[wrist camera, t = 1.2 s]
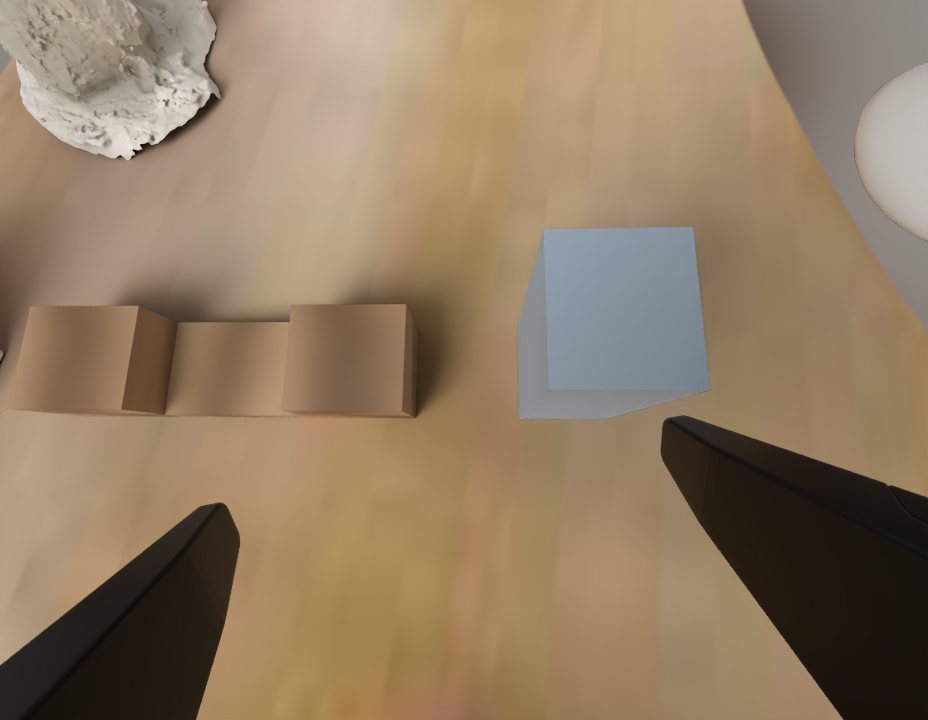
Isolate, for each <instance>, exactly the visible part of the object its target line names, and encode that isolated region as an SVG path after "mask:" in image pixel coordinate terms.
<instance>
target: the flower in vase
mask: <svg viewBox="0 0 928 720" xmlns="http://www.w3.org/2000/svg"><path fill="white" fill-rule="evenodd" d="M854 157H855V162H856V167H857V170H858V173H859V177H860V179H861V181H862V183H863V185H864V187H865V189H866V191H867V193H868V194H869V196H870V197H871V199H872V200H873V201H874V202H875V204H876V205H877V206H878V207H879V208H880V210H881V211H882V212H884V213H885V214H886V215H887V216H888V217H889V218H890V219H891V220H892V221H894V222H895V223H896V224H898V225H899V226H900V227H901V228H903V229H905V230H906V231H908V232H909V233H911V234H913V235H914V236H917V237H919V238H921V239H923V240H925V241H927V242H928V62H927V63H924V64H921V65H919V66H917V67H915V68H913V69H910V70H909V71H907V72H904V73H902V74H900V75H898V76H897V77H895V78H893V79H891V80H890V81H888V82H887V83H886V84H884V85H883V86H881V87H880V88H879V89H878V90H877V91H876V92H875V93H874V94H873V96H872V97H871V98H870V100H869V101H868V102H867V104H866V106H865V108H864V110H863V111H862V113H861V116H860V119H859V123H858V127H857V131H856V137H855V144H854Z"/></svg>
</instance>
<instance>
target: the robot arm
mask: <svg viewBox="0 0 928 720" xmlns="http://www.w3.org/2000/svg"><path fill="white" fill-rule="evenodd" d="M661 456H662V459H663V462H664V464H665V465H666V467H667V469H668V471H669V472H670V474H671V476H672V477H673V479H674V481H675V482H676V484H677V486H678V488H679V489H680V491H681V493H682V494H683V496H684V498H685V500H686V501H687V503H688V505H689V506H690V508H691V510H692V511H693V513H694V515H695V516H696V518H697V520H698V521H699V523H700V524H701V526H702V527H703V529H704V530H705V531H706V533H707V534H708V536H709V537H710V538H711V540H712V541H713V542H714V544H715V545H716V547H717V548H718V549H719V551H720V552H721V553H722V555H723V556H724V557H725V559H726V560H727V562H728V563H729V564H730V566H731V567H732V568H733V570H734V571H735V572H736V574H737V575H738V577H739V578H740V579H741V581H742V582H743V583H744V585H745V586H746V587H747V589H748V590H749V592H750V593H751V594H752V596H753V597H754V598H755V600H756V601H757V602H758V604H759V605H760V607H761V608H762V609H763V611H764V612H765V613H766V615H767V616H768V617H769V619H770V620H771V622H772V623H773V624H774V626H775V627H776V628H777V630H778V631H779V632H780V634H781V635H782V637H783V638H784V639H785V641H786V642H787V643H788V645H789V646H790V647H791V649H792V650H793V652H794V653H795V654H796V656H797V657H798V658H799V660H800V661H801V662H802V664H803V665H804V667H805V668H806V669H807V671H808V672H809V673H810V675H811V676H812V677H813V679H814V680H815V682H816V683H817V684H818V686H819V687H820V688H821V690H822V691H823V692H824V694H825V695H826V697H827V698H828V699H829V701H830V702H831V703H832V705H833V706H834V707H835V709H836V710H837V712H838V713H839V714H840V716H841V717H842V718H843V720H928V497H925V496H922V495H919V494H916V493H913V492H910V491H907V490H904V489H901V488H898V487H895V486H892V485H890V486H887V484H885V483H883V482H880V481H877V480H874V479H871V478H868V477H866V476H863V475H860V474H857V473H854V472H851V471H848V470H845V469H842V468H839V467H836V466H833V465H830V464H827V463H824V462H821V461H818V460H815V459H812V458H809V457H806V456H804V455H801V454H798V453H795V452H792V451H789V450H786V449H783V448H780V447H777V446H774V445H771V444H768V443H765V442H762V441H759V440H756V439H753V438H750V437H748V436H745V435H742V434H739V433H736V432H733V431H730V430H727V429H724V428H721V427H718V426H715V425H712V424H709V423H706V422H703V421H700V420H697V419H694V418H692V417H689V416H685V415H682V416H676V417H671V418H667V419H666V420H665V421H664V422H663V427H662V440H661ZM239 548H240V536H239V532H238V530H237V527H236V525H235V523H234V521H233V519H232V516H231V514H230V512H229V510H228V508H227V506H226V505H225V504H224V503H214V504H209V505H204V506H201V507H199V508H197V509H196V510H195V511H193V512H192V513H191V514H190V515H188V516H187V517H186V518H185V519H183V520H182V521H181V522H180V523H178V524H177V525H176V526H175V527H173V528H172V529H171V530H170V531H168V532H167V533H166V534H165V535H163V536H162V537H161V538H160V539H158V540H157V541H156V542H155V543H153V544H152V545H151V546H150V547H148V548H147V549H146V550H144V551H143V552H142V553H141V554H139V555H138V556H137V557H136V558H134V559H133V560H132V561H131V562H129V563H128V564H127V565H126V566H124V567H123V568H122V569H121V570H119V571H118V572H117V573H116V574H114V575H113V576H112V577H111V578H109V579H108V580H107V581H106V582H104V583H103V584H102V585H101V586H99V587H98V588H97V589H95V590H94V591H93V592H92V593H90V594H89V595H88V596H87V597H85V598H84V599H83V600H82V601H80V602H79V603H78V604H77V605H75V606H74V607H73V608H72V609H70V610H69V611H68V612H67V613H65V614H64V615H63V616H62V617H60V618H59V619H58V620H57V621H55V622H54V623H53V624H52V625H50V626H49V627H48V628H46V629H45V630H44V631H43V632H41V633H40V634H39V635H38V636H36V637H35V638H34V639H33V640H31V641H30V642H29V643H28V644H26V645H25V646H24V647H23V648H21V649H20V650H19V651H18V652H16V653H15V654H14V655H13V656H11V657H10V658H9V659H8V660H6V661H5V662H4V663H3V664H1V665H0V720H196V718H197V715H198V712H199V708H200V705H201V702H202V698H203V695H204V692H205V688H206V685H207V682H208V678H209V675H210V672H211V668H212V665H213V662H214V658H215V655H216V652H217V649H218V645H219V642H220V639H221V635H222V631H223V628H224V624H225V620H226V615H227V611H228V606H229V600H230V595H231V590H232V585H233V579H234V574H235V569H236V563H237V558H238V553H239Z"/></svg>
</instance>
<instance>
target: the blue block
mask: <svg viewBox="0 0 928 720" xmlns="http://www.w3.org/2000/svg"><path fill="white" fill-rule="evenodd" d="M518 383H519V419H608V418H611V417H615V416H619V415H622V414H626V413H629V412H633V411H637V410H640V409H644V408H648V407H651V406H655V405H659V404H662V403H666V402H669V401H673V400H677V399H680V398H684V397H688V396H691V395H695V394H699V393H702V392H706V391H709V390H710V382H709V372H708V363H707V354H706V344H705V335H704V325H703V316H702V306H701V297H700V287H699V278H698V269H697V259H696V250H695V240H694V231H693V227H635V228H563V229H544V230H543V233H542V237H541V241H540V245H539V248H538V252H537V256H536V260H535V264H534V267H533V271H532V275H531V279H530V283H529V286H528V290H527V294H526V298H525V302H524V305H523V309H522V313H521V317H520V320H519V324H518Z"/></svg>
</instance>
